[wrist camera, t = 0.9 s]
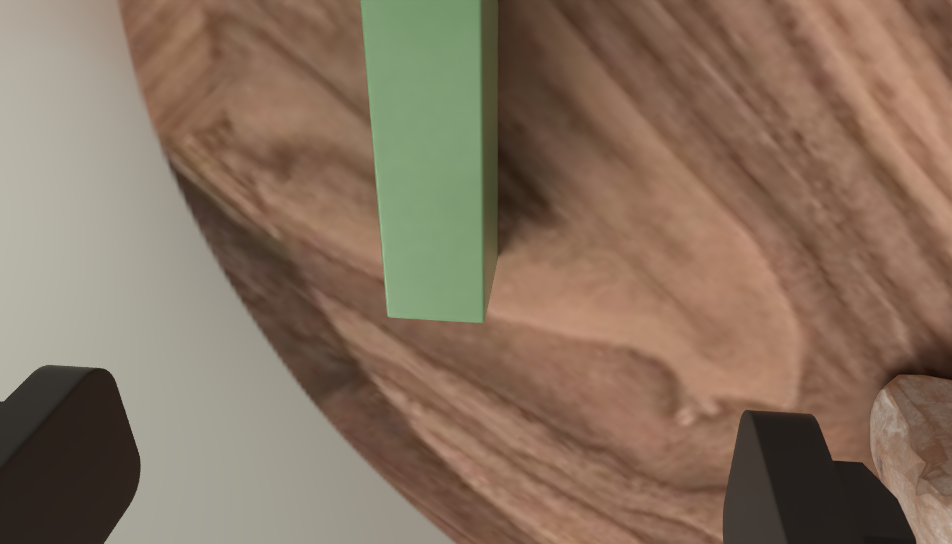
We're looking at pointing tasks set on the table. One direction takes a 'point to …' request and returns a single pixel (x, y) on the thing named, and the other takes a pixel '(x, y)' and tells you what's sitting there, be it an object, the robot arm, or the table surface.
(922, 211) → the table surface
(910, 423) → the sculpture
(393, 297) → the bar
